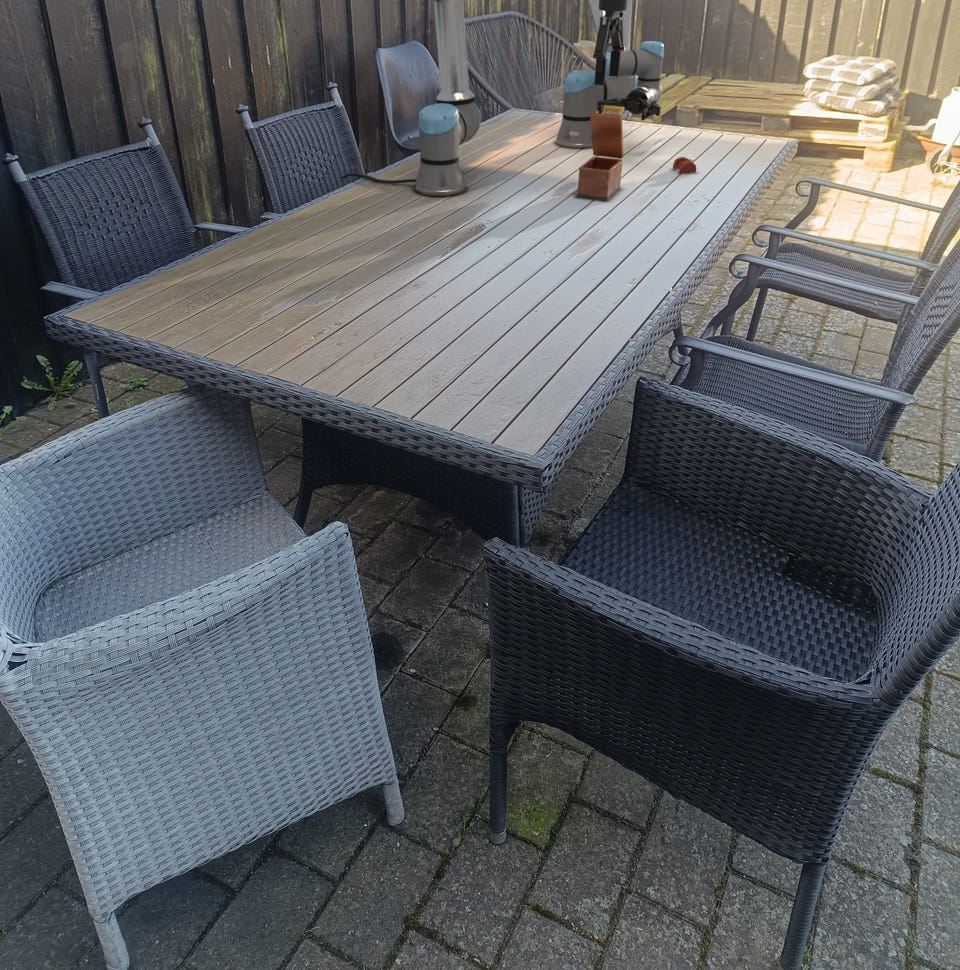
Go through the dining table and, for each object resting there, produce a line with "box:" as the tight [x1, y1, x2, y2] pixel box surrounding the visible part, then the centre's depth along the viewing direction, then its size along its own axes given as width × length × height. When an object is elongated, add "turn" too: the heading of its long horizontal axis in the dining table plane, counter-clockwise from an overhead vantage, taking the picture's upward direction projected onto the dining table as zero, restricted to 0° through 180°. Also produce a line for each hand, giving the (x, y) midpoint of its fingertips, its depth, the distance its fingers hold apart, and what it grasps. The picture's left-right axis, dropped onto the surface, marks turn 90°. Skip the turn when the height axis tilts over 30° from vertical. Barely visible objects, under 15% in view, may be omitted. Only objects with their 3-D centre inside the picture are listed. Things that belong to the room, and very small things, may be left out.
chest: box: [576, 155, 623, 202], centre depth 253 cm, size 14×9×9 cm
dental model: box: [672, 156, 697, 174], centre depth 274 cm, size 6×4×8 cm
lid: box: [590, 105, 624, 160], centre depth 251 cm, size 14×9×8 cm
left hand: (606, 80), depth 236 cm, fingers open, 13 cm apart
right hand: (621, 113), depth 257 cm, fingers open, 13 cm apart
